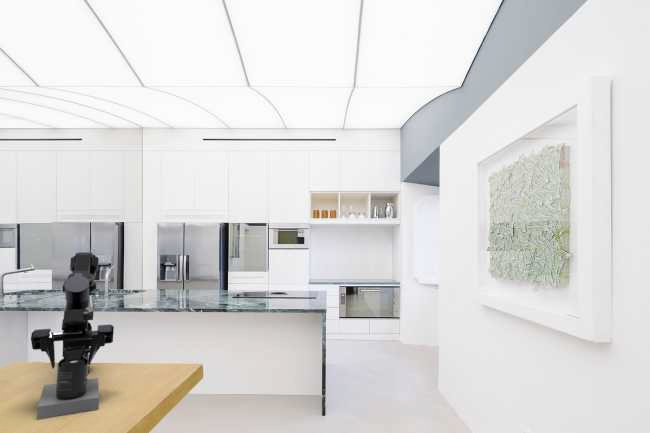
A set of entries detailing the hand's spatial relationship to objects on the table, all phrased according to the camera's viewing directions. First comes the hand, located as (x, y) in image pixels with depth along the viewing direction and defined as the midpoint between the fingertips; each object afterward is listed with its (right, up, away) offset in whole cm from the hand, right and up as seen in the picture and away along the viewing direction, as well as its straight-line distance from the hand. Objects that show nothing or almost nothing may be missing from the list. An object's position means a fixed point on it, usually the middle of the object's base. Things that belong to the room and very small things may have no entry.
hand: (71, 365), depth 105 cm
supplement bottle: (-1, -8, +1) cm, 8 cm away
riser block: (-3, -11, +4) cm, 12 cm away
